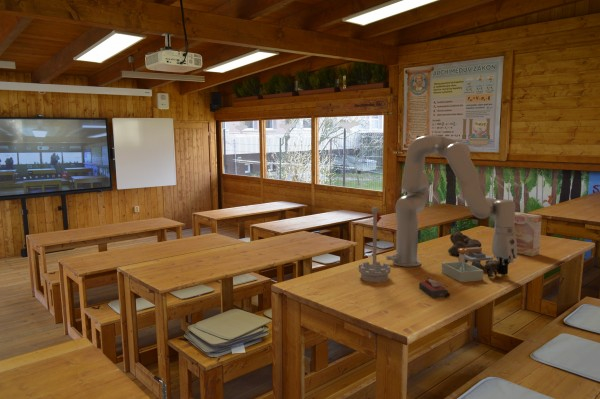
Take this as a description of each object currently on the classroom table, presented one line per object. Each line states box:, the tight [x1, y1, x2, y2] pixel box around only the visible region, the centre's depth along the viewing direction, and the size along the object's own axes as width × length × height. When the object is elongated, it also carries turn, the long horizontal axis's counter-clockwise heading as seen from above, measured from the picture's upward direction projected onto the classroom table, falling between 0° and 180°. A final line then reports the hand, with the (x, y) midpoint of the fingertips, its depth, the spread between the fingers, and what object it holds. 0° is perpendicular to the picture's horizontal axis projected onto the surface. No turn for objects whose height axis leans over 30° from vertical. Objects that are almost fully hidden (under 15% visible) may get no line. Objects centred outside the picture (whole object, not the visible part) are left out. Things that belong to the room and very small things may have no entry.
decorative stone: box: [447, 231, 482, 256], centre depth 232 cm, size 16×11×15 cm
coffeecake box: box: [514, 211, 543, 257], centre depth 232 cm, size 15×7×20 cm, turn 37°
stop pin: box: [458, 248, 467, 272], centre depth 195 cm, size 4×4×11 cm
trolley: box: [457, 247, 494, 270], centre depth 209 cm, size 11×14×8 cm
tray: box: [441, 261, 484, 283], centre depth 196 cm, size 10×14×4 cm
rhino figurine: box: [483, 259, 500, 278], centre depth 196 cm, size 4×14×6 cm, turn 130°
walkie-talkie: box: [418, 277, 451, 299], centre depth 180 cm, size 9×4×20 cm
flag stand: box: [358, 206, 391, 283], centre depth 193 cm, size 13×13×30 cm
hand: (503, 273), depth 193 cm, fingers closed
